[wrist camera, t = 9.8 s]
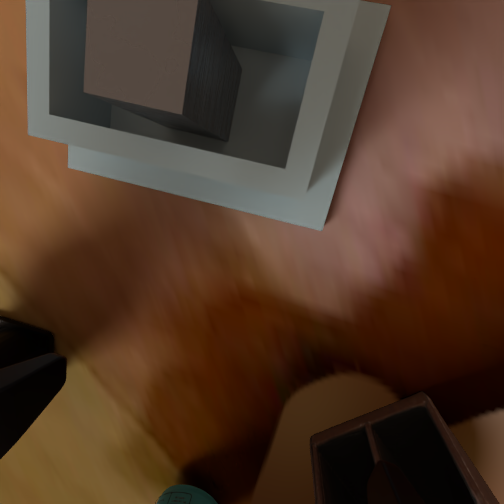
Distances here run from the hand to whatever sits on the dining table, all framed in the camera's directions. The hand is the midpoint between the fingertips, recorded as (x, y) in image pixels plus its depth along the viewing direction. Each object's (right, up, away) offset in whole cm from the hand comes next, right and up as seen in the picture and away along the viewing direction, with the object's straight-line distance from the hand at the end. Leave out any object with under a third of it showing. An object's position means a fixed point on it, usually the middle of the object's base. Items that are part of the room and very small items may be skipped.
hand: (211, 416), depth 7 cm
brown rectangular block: (-2, +14, +9) cm, 16 cm away
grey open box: (-2, +14, +10) cm, 17 cm away
